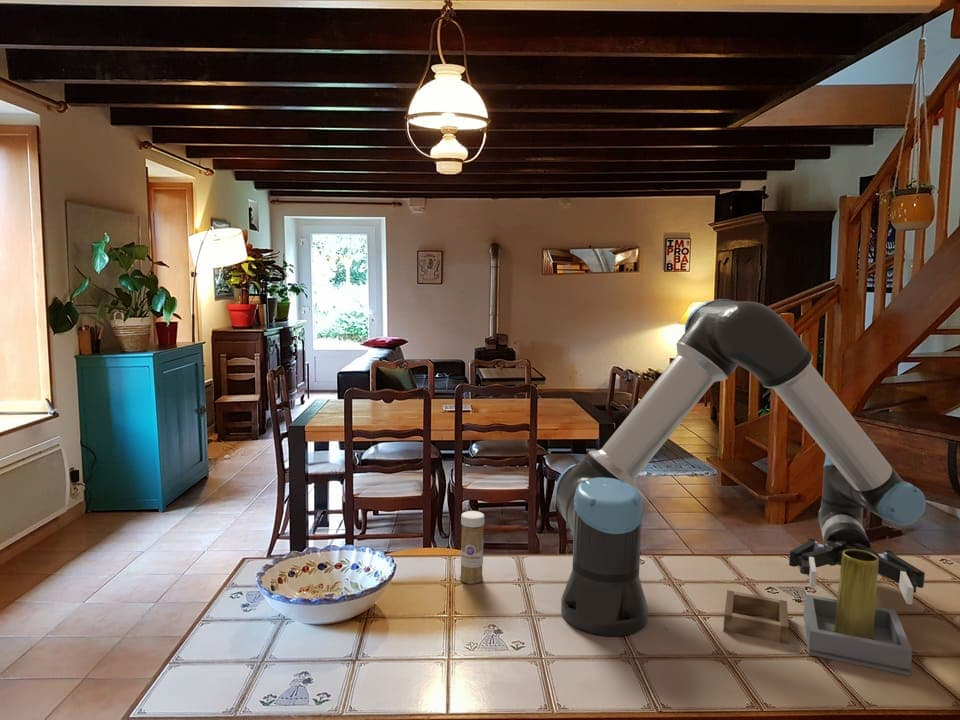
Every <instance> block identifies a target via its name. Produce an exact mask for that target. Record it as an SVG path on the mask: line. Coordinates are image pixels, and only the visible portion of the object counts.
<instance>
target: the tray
mask: <svg viewBox="0 0 960 720" xmlns="http://www.w3.org/2000/svg"><path fill="white" fill-rule="evenodd" d="M836 603H837V599H834V598H829V597H823V596H817V595H811V594H806V593H805V594H804V606H803V621H804V622H805V623H804V622H803V623H804V630H806V631H805V639H806V644H807V645H806V646H807V653H808V655H809V656H814V657H818V658H823V659H828V660H834V661H838V662H843V663H847V664H853V665H857V666H861V667H866V668H870V669H871V668H872V669H876V670H881V671H885V672H891V673H895V674H900V675H904V676H911V670H912V661H913V649H912V646H911V644H910V641H909V639H908V637H907V634H906V632H905V630H904V627H903V625H902V621H901V619H900V618H899V615H898V613H897V610H896V609H890V608H886V607H885V608H884V607H879V606H876V608H875V619H874V639H875V640H871V639H866V638H861V637H856V636H851V635H845V634H840V633H835V632H833V627H834V625H835V612H836Z"/></svg>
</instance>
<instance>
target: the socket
mask: <svg viewBox="0 0 960 720" xmlns="http://www.w3.org/2000/svg"><path fill="white" fill-rule="evenodd" d="M733 611H737V612H743V613H748V614H754V615H758V616H763V617H769V618H774V619H778V621H775V620H771V619H766V618H762V617H761V618H760V617H756V616H751V615H745V614H739V613H737V612H736V613H734V612H733ZM788 612H789V611H788V601H787V600H784V599H779V598H772V597H767V596H762V595H757V594H751V593H746V592H739V591H735V590H734V591H733V590H728V589H727V590H726V599H725V608H724V615H723V616H724V618H723V632H726V633H731V634H736V635H740V636H744V637H745V636H746V637H750V638H753V639H760V640H765V641H769V642H775V643H780V644H785V645H788V642H789V630H790V625H789V613H788Z"/></svg>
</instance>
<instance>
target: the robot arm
mask: <svg viewBox="0 0 960 720" xmlns="http://www.w3.org/2000/svg"><path fill="white" fill-rule="evenodd" d="M676 352H677V354H676V356H675V357H674V358H673V359H672V360H671V362H670V364H669V365H668V366H666V368H665V370H664V371H663V372H662V373H661V375H660V376H659V377H658V378H657V380H656V381H655V382H654V383H653V385H651V387H650V388H649V389H648V391H646V393H645V395H643V397H642V398H641V399H640V400H639V402H638V403H637V404H636V405H635V406H634V408H633V409H632V411H631V412H630V413H629V414H628V416H626V418H625V419H624V420H623V422H622V423H621V424H620V425H619V426H618V428H617V429H616V430H615V432H613V434H612V435H611V436H610V437H609V438H608V440H607V441H606V442H605V443H604V445H602V446H603V447H601V448H600V449H596V450H590V451H588V452H587V453H586V455H585V456H584V457H583V458H582V460H581V461H580V462H579V463H576V464H572V465H569V467H567V468H566V469H565V470H563V471H562V472H561V474H560V475H559V477H558V478H557V481H556V484H555V488H554V498H555V501H556V507H557V509H558V512H559V513H560V515H561V516H562V518H563V519H564V520H565V522H566V524H567V526H568V527H569V528H570V530H571V531H572V533H573V534H572V535H573V536H572V537H573V543H572V544H573V545H572V569H571V572H570V575H569V578H568V579H567V582H566V584H565V585H566V586H565V589H564V591H563V593H562V595H561V600H560V601H561V602H560V603H561V606H560V612H561V616H562V617H563V619H564V620H565V621H566V622H567V623H568V624H570V625H571V626H572V627H574V628H576V629H577V630H581V631H584V632H586V633H589V634H594V635H598V636H605V637H621V636H622V637H623V636H626V635H628V636H629V635H632V634H636V633H638V632H639V631H641V630H642V629H644V628H645V626H646V625H647V622H648V613H649V609H648V608H649V607H648V604H647V600H646V597H645V593H644V589H643V586H642V583H641V579H640V563H641V548H642V547H641V546H642V545H641V544H642V528H643V527H642V526H643V519H644V507H643V497H642V496H641V493H640V492H639V490H638V488H637V477H638V476H639V475H640V474H641V472H642V471H643V470H644V469H645V468H646V466H647V465H648V464H649V462H650V461H651V460H652V459H653V458H654V456H655V455H656V454H657V452H659V450H660V449H661V448H662V447H663V445H664V444H665V443H666V441H667V440H668V439H669V438H670V437H671V436H672V434H674V432H675V431H676V429H677V428H678V427H679V426H680V425H681V423H682V422H683V421H684V419H686V417H687V416H688V415H689V413H690V412H691V411H692V409H694V407H695V406H696V405H697V403H698V402H699V401H700V400H701V398H702V397H703V396H704V395H705V393H707V391H708V390H709V389H710V388H711V386H712V385H713V384H714V383H716V382H720V381H722V382H723V381H726V380H728V378H729V377H730V376H731V375H732V374H733V373H734V371H735V370H736V369H737V367H738V366H740V367H741V368H743V369H745V370H746V371H748V372H749V373H751V374H752V375H753V376H754V377H755V378H756V379H757V380H758V381H759V382H760V384H761V385H762V387H764V388H767V389H772V390H774V393H776V394H777V396H778V397H779V398H780V399H781V400H782V402H783V403H784V404H785V406H786V407H788V409H789V410H790V412H791V413H792V414H793V415H794V417H795V418H796V419H797V420H798V421H799V423H800V424H801V425H802V426H803V427H804V429H805V431H807V433H808V434H809V435H810V436H811V438H812V439H813V440H814V441H815V442H816V444H817V445H818V446H819V448H820V449H821V450H822V452H823V453H824V454H825V457H824V458H825V459H824V464H823V466H822V467H823V473H822V476H823V477H822V493H821V499H820V500H821V501H820V508H819V510H818V514H817V522H818V523H817V524H818V526H819V529H820V532H821V536H822V541H823V544H820V543H818V542H817V541H816V539H815V538H812V537H809V538H807V541H806V542H805V543H802V544H801V545H799V546H798V547H796V548H793V549H792V550H790V551H789V558H788V559H789V562H788V565H789V566H790V567H793V568H795V567H797V566H799V567H800V570H799V573H800V574H802V575H807V576H808V582H809V586H810V588H816V583H817V568H820V567H824V566H827V565H828V566H831V567H833V566H838V565H839V566H840V567H841V560H842V553H843V551H844V550H847V549H858V550H864V551H867V552H870V553H873V554H875V555H876V556H877V557H878V558H879V565H878V575H881V576H883V577H885V578H887V579H889V580H891V581H893V582H896V583H897V584H898V588H899V590H900V592H901V594H902V597H903V599H904V601H905V603H906V604H907V605H913V598H914V594H915V593H916V592H917V588H919V589H920V588H921V589H924V585H925V576H926V573H925V572H924V571H923V570H921V569H919V568H917V567H916V566H914V565H913V564H911V563H909V562H907V561H906V560H905V559H903V558H901V557H899V556H897V554H896V553H895V552H894V551H893V550H890V549H886V550H885V549H884V552H883V553H879V552H877V551H876V550H875V549H873V548H872V545H871V543H870V540H869V537H868V536H867V534H866V531H865V528H864V526H863V515H864V509H865V510H867V511H869V512H871V513H873V514H874V515H876V516H878V517H879V518H881V519H882V520H884V521H889V522H891V523H894V524H896V525H898V526H899V525H900V526H908V525H912V524H914V523H916V522H917V521H918V520H919V519H920V518H921V517H922V516H923V514H924V512H925V509H926V506H927V504H926V503H927V502H926V498H925V495H924V493H923V491H921V489H920V488H918V487H916V486H914V485H913V483H910V482H908V481H905V480H903V479H902V478H901V477H900V476H899V474H898V473H897V472H896V470H895V469H894V468H893V467H892V465H891V464H890V463H889V462H888V461H887V459H886V457H884V455H883V454H882V452H880V450H879V449H878V448H877V446H876V444H874V442H873V441H872V440H871V439H870V437H869V436H868V435H867V433H866V432H865V431H864V430H863V428H862V427H861V426H860V425H859V423H858V422H857V420H856V419H855V418H854V416H853V415H852V414H851V413H850V411H849V410H848V409H847V408H846V406H845V405H844V404H843V403H842V401H841V400H840V399H839V397H838V396H837V394H836V393H835V392H834V391H833V390H832V389H831V386H829V384H828V383H827V382H826V381H825V380H824V378H823V376H821V374H820V373H819V371H818V370H817V369H816V368H815V367H814V365H813V359H814V357H813V354H812V353H811V351H810V350H809V348H808V347H807V346H806V345H805V343H804V342H803V341H802V340H801V338H800V337H799V336H798V335H797V333H796V332H795V331H794V330H793V328H792V327H791V326H790V325H789V324H788V323H787V322H786V321H785V319H783V318H782V317H781V315H779V314H778V313H777V312H775V311H774V310H773V309H772V308H770V307H768V306H766V305H765V304H763V303H760V302H756V301H739V300H738V301H737V300H732V299H727V298H726V299H725V298H719V299H714V300H711V301H709V300H708V301H707V302H703V303H702V304H700V305H698V306H697V307H696V308H695V309H693V311H692V312H691V313H690V314H689V316H688V317H687V320H686V322H685V325H684V333H683V335H682V336H681V337H680V338H679V340H678V341H677V342H676Z"/></svg>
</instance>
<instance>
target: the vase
mask: <svg viewBox="0 0 960 720" xmlns="http://www.w3.org/2000/svg"><path fill="white" fill-rule="evenodd" d="M878 565H879V558H878V557H877V556H876V555H875V554H873V553H870V552H867V551H864V550H858V549H847V550H844V551H843V553H842V560H841V566H840V570H839V571H840V573H839V581H838V582H839V583H838V591H837V597H836V600H837V603H836V612H835V625H834V627H833V632H835V633H840V634H845V635H851V636H856V637H861V638H866V639H871V640H875V639H874V619H875V608H876V607H877V606H876V605H877V586H878V576H879V573H878Z"/></svg>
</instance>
